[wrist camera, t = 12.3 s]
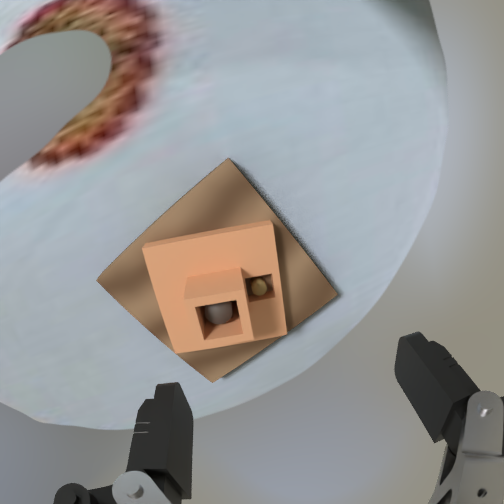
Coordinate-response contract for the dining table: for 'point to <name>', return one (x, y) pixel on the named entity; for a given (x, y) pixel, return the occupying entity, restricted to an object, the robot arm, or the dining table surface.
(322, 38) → the dining table surface
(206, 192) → the post base
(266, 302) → the flange plate
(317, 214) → the dining table surface
